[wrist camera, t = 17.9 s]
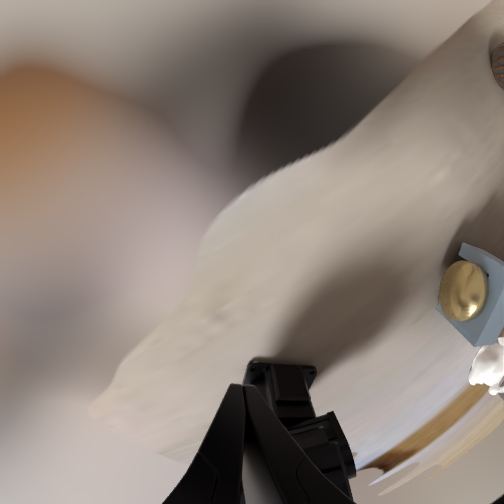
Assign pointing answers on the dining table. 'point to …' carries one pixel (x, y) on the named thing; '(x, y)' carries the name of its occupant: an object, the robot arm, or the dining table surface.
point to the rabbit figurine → (489, 366)
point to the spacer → (498, 305)
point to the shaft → (464, 291)
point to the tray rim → (503, 394)
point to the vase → (498, 64)
